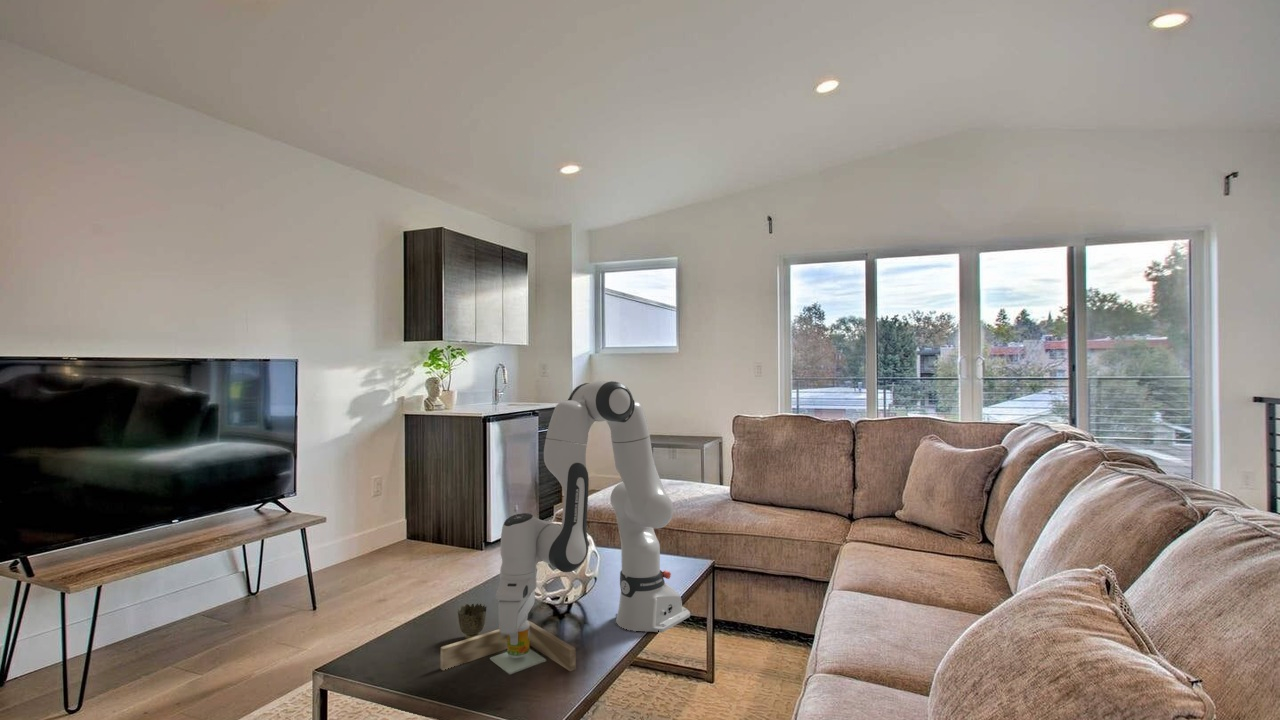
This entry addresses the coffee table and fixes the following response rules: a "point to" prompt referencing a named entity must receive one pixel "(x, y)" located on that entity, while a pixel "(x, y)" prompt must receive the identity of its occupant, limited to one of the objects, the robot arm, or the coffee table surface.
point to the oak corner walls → (498, 642)
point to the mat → (517, 661)
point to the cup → (472, 619)
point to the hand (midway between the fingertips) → (518, 637)
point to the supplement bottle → (520, 641)
